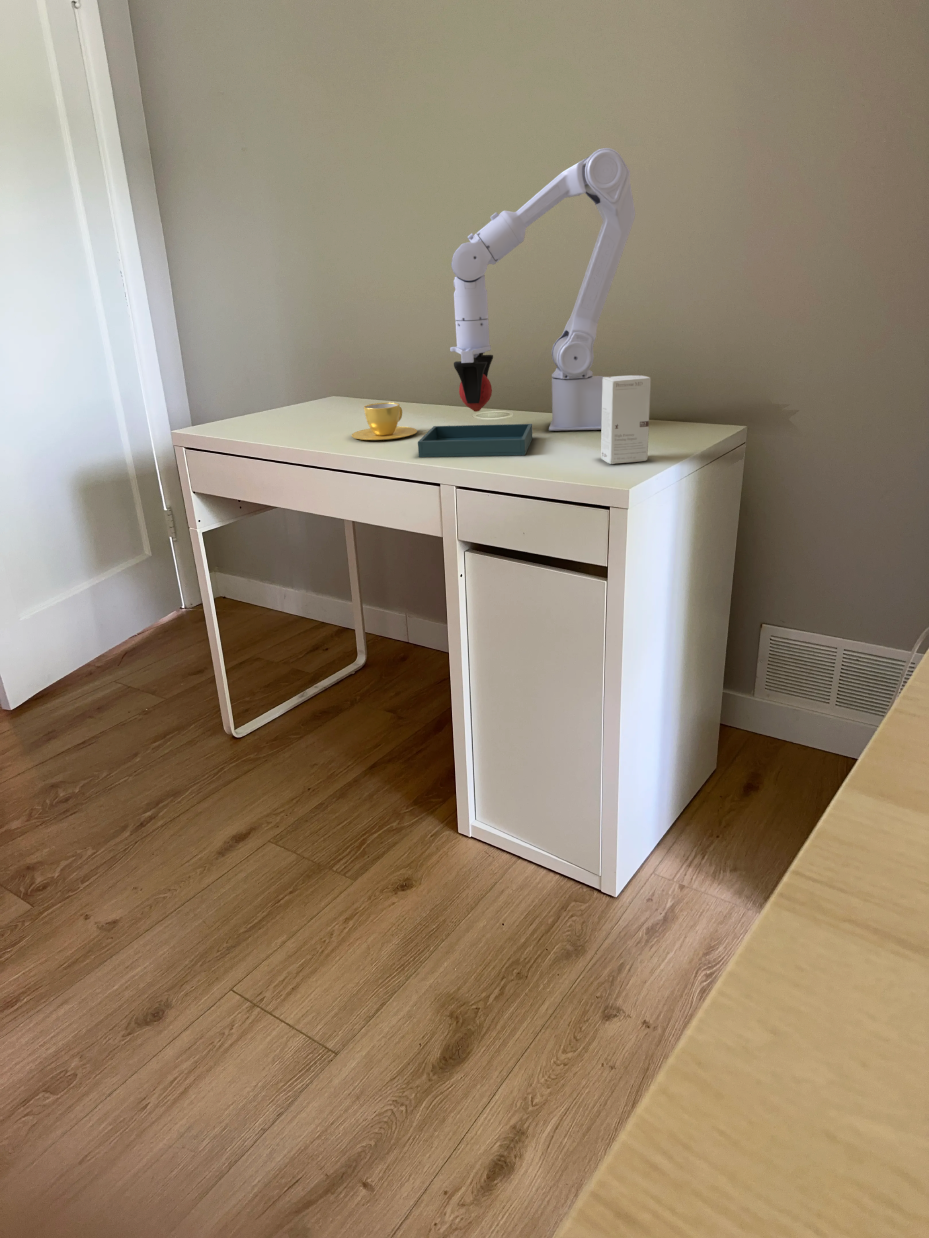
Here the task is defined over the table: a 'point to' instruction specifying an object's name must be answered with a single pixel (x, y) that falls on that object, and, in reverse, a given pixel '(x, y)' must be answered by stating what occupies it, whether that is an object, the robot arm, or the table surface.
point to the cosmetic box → (625, 418)
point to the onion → (484, 398)
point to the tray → (476, 440)
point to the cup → (383, 423)
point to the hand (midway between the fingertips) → (476, 400)
